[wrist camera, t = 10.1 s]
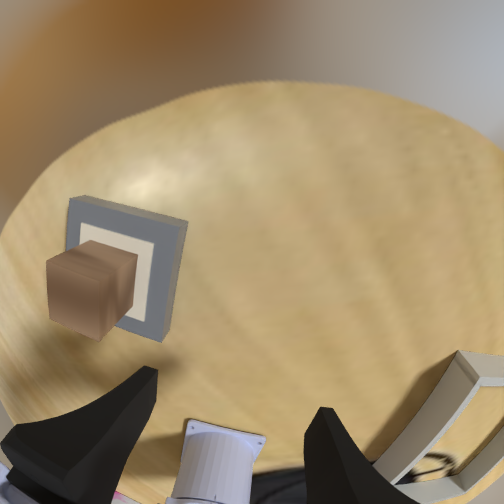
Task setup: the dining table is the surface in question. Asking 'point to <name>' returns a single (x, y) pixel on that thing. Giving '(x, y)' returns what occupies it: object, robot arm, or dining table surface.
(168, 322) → the plate
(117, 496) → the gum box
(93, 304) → the walnut block
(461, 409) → the grey corral
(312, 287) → the dining table surface
